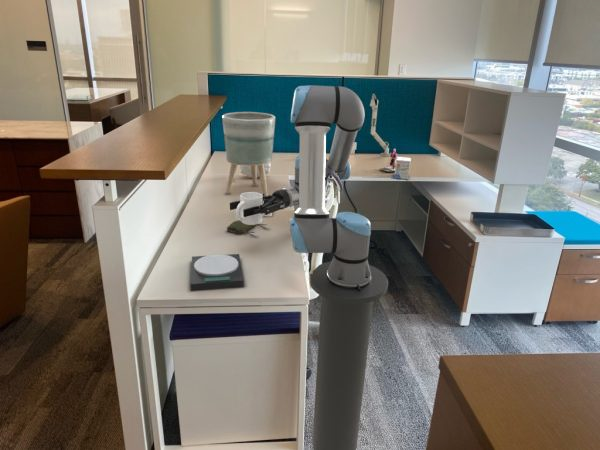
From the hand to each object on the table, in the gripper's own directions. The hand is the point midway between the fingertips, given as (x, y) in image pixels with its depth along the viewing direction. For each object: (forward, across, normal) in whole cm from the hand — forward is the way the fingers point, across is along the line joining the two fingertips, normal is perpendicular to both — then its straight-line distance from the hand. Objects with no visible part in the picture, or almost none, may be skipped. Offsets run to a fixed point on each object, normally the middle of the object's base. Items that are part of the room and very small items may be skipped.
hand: (237, 209), depth 162 cm
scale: (+15, -9, -18) cm, 25 cm away
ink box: (-141, +29, -18) cm, 145 cm away
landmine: (-16, +17, -18) cm, 30 cm away
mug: (-5, 0, -6) cm, 8 cm away
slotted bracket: (-32, +30, -18) cm, 48 cm away
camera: (-65, +79, -18) cm, 104 cm away
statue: (-146, +43, -18) cm, 153 cm away
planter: (-47, +59, -18) cm, 77 cm away
